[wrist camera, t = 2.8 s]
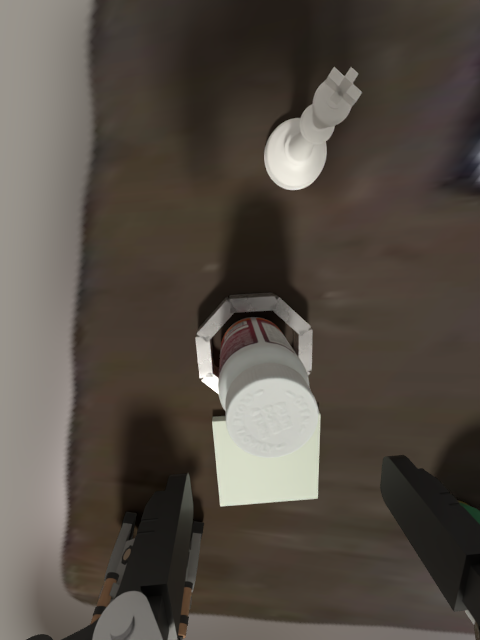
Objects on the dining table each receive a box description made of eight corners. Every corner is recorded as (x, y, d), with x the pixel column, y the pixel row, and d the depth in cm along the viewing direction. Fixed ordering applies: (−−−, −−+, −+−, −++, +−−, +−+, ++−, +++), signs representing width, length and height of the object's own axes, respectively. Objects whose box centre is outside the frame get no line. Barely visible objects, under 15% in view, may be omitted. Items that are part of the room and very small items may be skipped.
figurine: (116, 569, 32) (22, 835, 17) (129, 497, 29) (30, 744, 14) (189, 578, 33) (157, 838, 18) (208, 509, 30) (189, 753, 15)
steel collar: (194, 297, 23) (191, 301, 21) (306, 290, 24) (313, 293, 22) (204, 396, 26) (202, 408, 24) (304, 389, 26) (310, 400, 24)
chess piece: (300, 202, 22) (358, 164, 12) (252, 165, 21) (272, 93, 11) (337, 147, 21) (431, 57, 11) (287, 106, 20) (343, -30, 10)
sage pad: (212, 416, 27) (212, 421, 26) (317, 409, 27) (320, 413, 26) (220, 499, 30) (220, 506, 29) (315, 492, 30) (317, 498, 29)
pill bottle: (220, 374, 25) (214, 467, 15) (221, 314, 24) (214, 368, 13) (282, 375, 26) (321, 466, 15) (287, 315, 24) (335, 369, 13)
